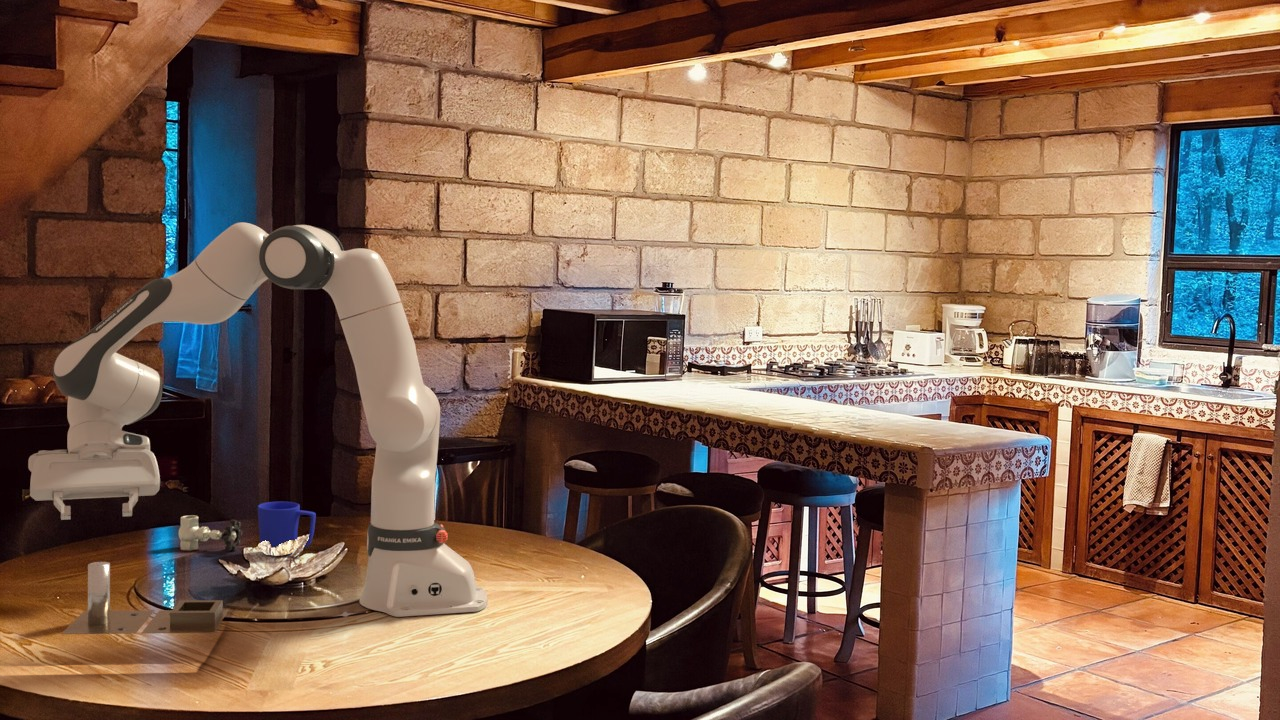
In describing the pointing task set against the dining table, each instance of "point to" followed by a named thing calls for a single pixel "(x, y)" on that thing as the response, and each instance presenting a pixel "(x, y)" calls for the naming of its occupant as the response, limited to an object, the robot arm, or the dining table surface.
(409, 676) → the dining table surface
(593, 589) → the dining table surface
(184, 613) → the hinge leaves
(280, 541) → the mug
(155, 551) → the dining table surface
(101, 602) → the pin
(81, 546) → the dining table surface
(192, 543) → the valve
